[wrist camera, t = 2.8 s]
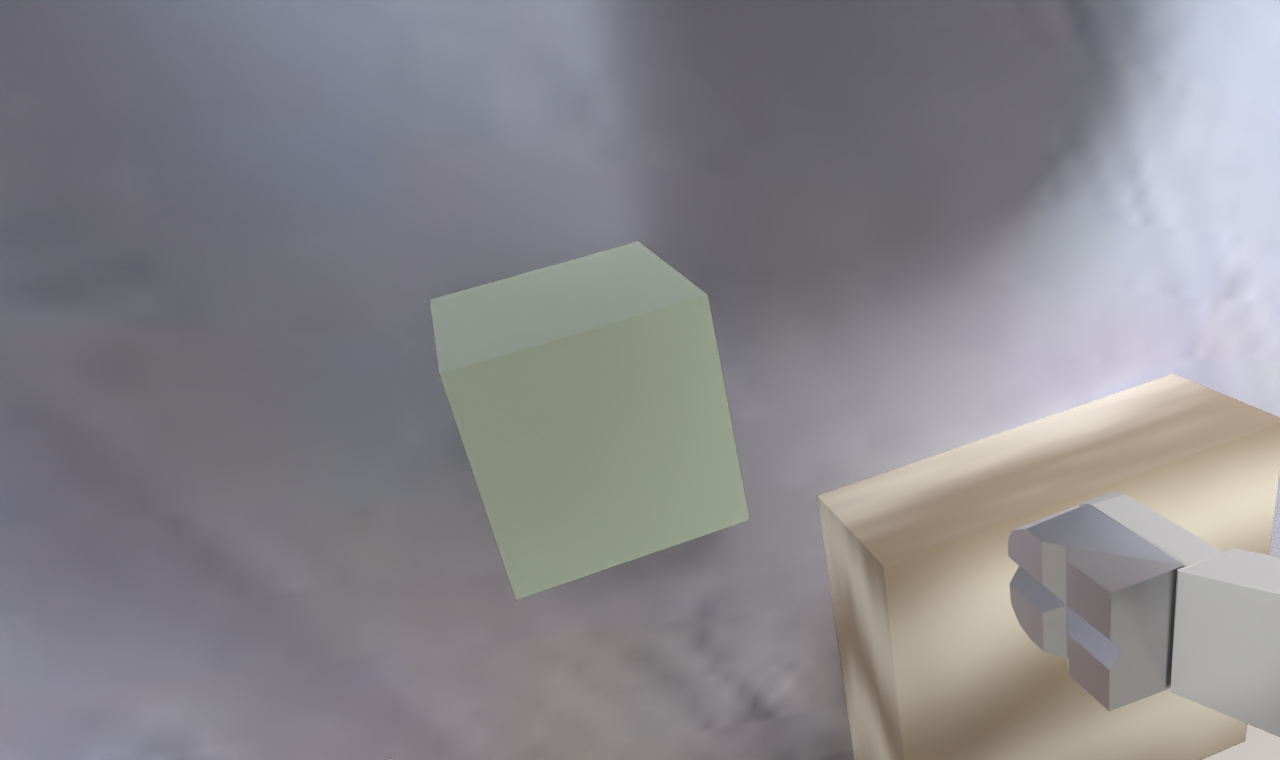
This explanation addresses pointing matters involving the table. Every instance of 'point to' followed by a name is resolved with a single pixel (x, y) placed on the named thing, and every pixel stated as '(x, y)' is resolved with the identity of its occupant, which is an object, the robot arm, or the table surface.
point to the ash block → (981, 570)
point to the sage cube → (590, 413)
